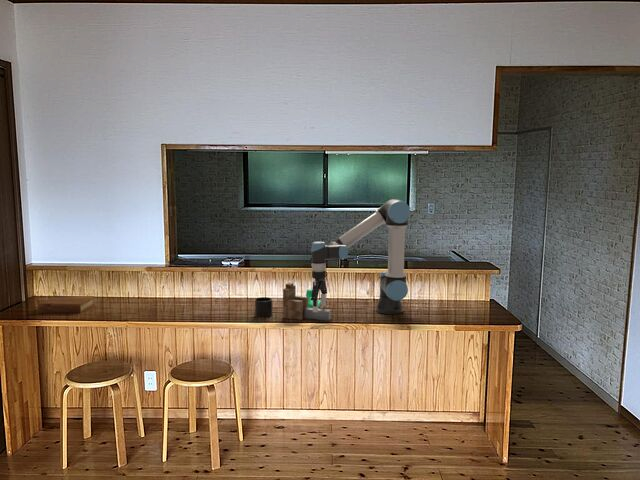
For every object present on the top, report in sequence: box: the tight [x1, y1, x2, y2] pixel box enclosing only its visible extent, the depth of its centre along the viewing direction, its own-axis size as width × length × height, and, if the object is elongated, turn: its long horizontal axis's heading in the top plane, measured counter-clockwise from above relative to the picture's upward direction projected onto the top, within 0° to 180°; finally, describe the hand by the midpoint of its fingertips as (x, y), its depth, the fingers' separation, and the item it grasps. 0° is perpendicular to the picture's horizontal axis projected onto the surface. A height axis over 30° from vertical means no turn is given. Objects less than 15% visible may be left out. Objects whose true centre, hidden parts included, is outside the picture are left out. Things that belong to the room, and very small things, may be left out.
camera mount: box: [305, 289, 321, 309], centre depth 300 cm, size 12×8×10 cm, turn 171°
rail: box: [303, 307, 332, 321], centre depth 277 cm, size 20×4×7 cm, turn 72°
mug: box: [254, 297, 273, 318], centre depth 282 cm, size 9×12×9 cm
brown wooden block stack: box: [282, 282, 309, 321], centre depth 279 cm, size 10×11×18 cm
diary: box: [38, 295, 95, 314], centre depth 292 cm, size 23×19×6 cm
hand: (319, 308), depth 275 cm, fingers open, 13 cm apart
